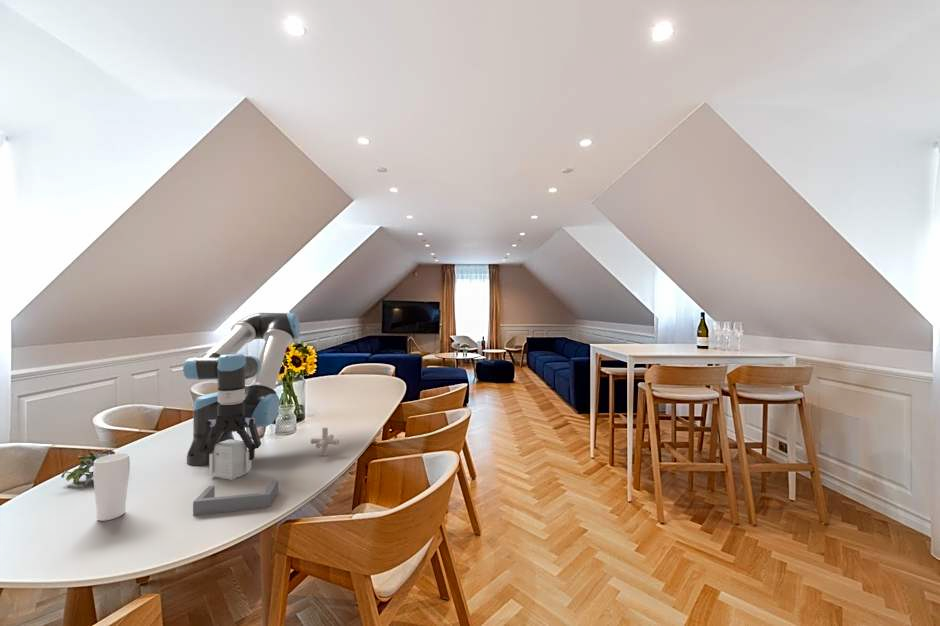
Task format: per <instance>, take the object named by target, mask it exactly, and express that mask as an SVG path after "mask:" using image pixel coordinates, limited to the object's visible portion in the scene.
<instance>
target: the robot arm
mask: <svg viewBox="0 0 940 626" xmlns="http://www.w3.org/2000/svg"><path fill="white" fill-rule="evenodd" d="M300 335H301V326H300V319H299V317H298V315H297V314H296V313H293V312H286V313H284V312H257V313H253V314H250V315H247V316H244V317H243V318H242V319H240V320H238V321H237V322H236V323H234V324H233V325H232V327H231V328H230V331H229V332H227V334H225V335H224V337H222V338H221V339H220V340H219V341H218V342H216V343H215V344H214V345H212V347H211V348H210V349H208V350H207V351H206V352H205V353H204V354H203V355H202V356H200V357H198V356H196V357H189V358H187V359H185V362H184V364H183V368H182V373H183V376H184V377H185V378H186V379H187V380H194V381H195V380H196V381H200V380H201V381H202V380H204V381H206V380H217V391H216V392H210V393H207V394H203V395H201V396H200V395H199V396H198V397H196V398H195V399H194V401H193V410H192V412H193V416H192V417H193V419H192V420H193V421H192V423H193V425H192V426H193V431H192V434H193V435H192V436H193V437H192V441H191V445H190V446H189V449H188V452H187V454H186V463H187V464H188V465H191V466H208V467H209V469H208V470H209V473H208V474H209V475H210V476H211V475H214V446H215V444H216V443H219V442H222V441H226V440H229V439H232V440H235V437H234V434H233V432H236V433H237V434H238V435H239V437H240V438H241V441H244V443H245V445H246V446H247V451H246V472H247V473H248V472H250V470H251V469H252V461H253V460H254V459H255V456H256V454H255V453H256V451H255V450H256V449H259V447H260V446H261V445H262V442H261V438H260V435H259V432H258V428H263V427H264V428H265V427H269V426H271V425H272V424H273V423H274V422H275V420H276V418H277V417H278V414H279V410H280V404H281V403H280V402H281V400H280V398H279V395H278V394H277V391H276V390H275V388H276V386H277V385H276V384H277V381H278V378H279V374H280V371H281V367H282V365H283V362H284V358H285V354H286V352H287V348H288V347H289V346H291V345H292V343H293V341H294V340H298V339H300ZM254 340H264V345H263V348H262V350H261V354H260V356H259V358H258V357H256V356H254V355H244V353H238V352H239V351H241V349H243V348H244V347H245V345H246V344H248V343H251V342H253V341H254ZM247 379H251V381H250V383H249V385H246V380H247ZM246 428H249V432H250V435H251V437H250V435H249V434H248V432H247V431H246Z"/></svg>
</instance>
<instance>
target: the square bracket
mask: <svg viewBox="0 0 940 626" xmlns="http://www.w3.org/2000/svg"><path fill="white" fill-rule="evenodd" d="M215 487H216V485H209V486H207V487H206V488H205V489H204V490H203V491H202V492H201V493H200V494H199V495H198V496H197V497H196V498H195V499H194V500H193V502H192V516H200V515H210V514H211V515H212V514H219V513H229V512H238V511H239V512H240V511H246V510H247V511H248V510H257V509H267V507H269V508H271V506H270V505H272V504H273V502H274V501H273V500H275V499H274V498H276V497H277V495H278V494H279V479H278V480H277V479H274V480H272V481H271V483H270V485H268V487H267V489H266V490H265V492H258V493H257V492H255V493H248V494H247V493H245V494H244V493H243V494H236V495H233V494H232V495H223V496H216V494H215V489H216V488H215ZM277 493H278V494H277Z"/></svg>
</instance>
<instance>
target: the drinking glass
mask: <svg viewBox="0 0 940 626" xmlns="http://www.w3.org/2000/svg"><path fill="white" fill-rule="evenodd" d="M130 465H131V459H130V454H129V453H128V452H127V453H126V452H119V453H116V454H111V455H110V454H109V455H106V456H103V457H100V458H98V459H96V460H95V461H94V466H92V467H93V470H92V472H93V487H94V497H95V504H96V505H95V507H96V508H95V509H96V519H97V520H98V521H101V522H105V521H111V520H114V519H117V518H119V517H121V516H122V515H124V514H125V512H126V507H127V506H126V503H127V496H128V495H127V494H128V487H129V477H130V469H131V466H130Z"/></svg>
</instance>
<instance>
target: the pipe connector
mask: <svg viewBox="0 0 940 626" xmlns="http://www.w3.org/2000/svg"><path fill="white" fill-rule="evenodd" d="M328 429H329V428H328V427H327V426H325V427H322V429H321V430H322V435H321V436H322V437H321V438H315V437H314V438H311V439H310V444H312V445H313V444H315V447H316V449H322V454H321V456H322V455H323V456H322V457H326V456H328V452H329V451H328V445H335V446H337V445H339V444H340V440H339V439H336V438H334V437H335V436H334V434H329V435H328V433H329V432H328Z"/></svg>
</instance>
